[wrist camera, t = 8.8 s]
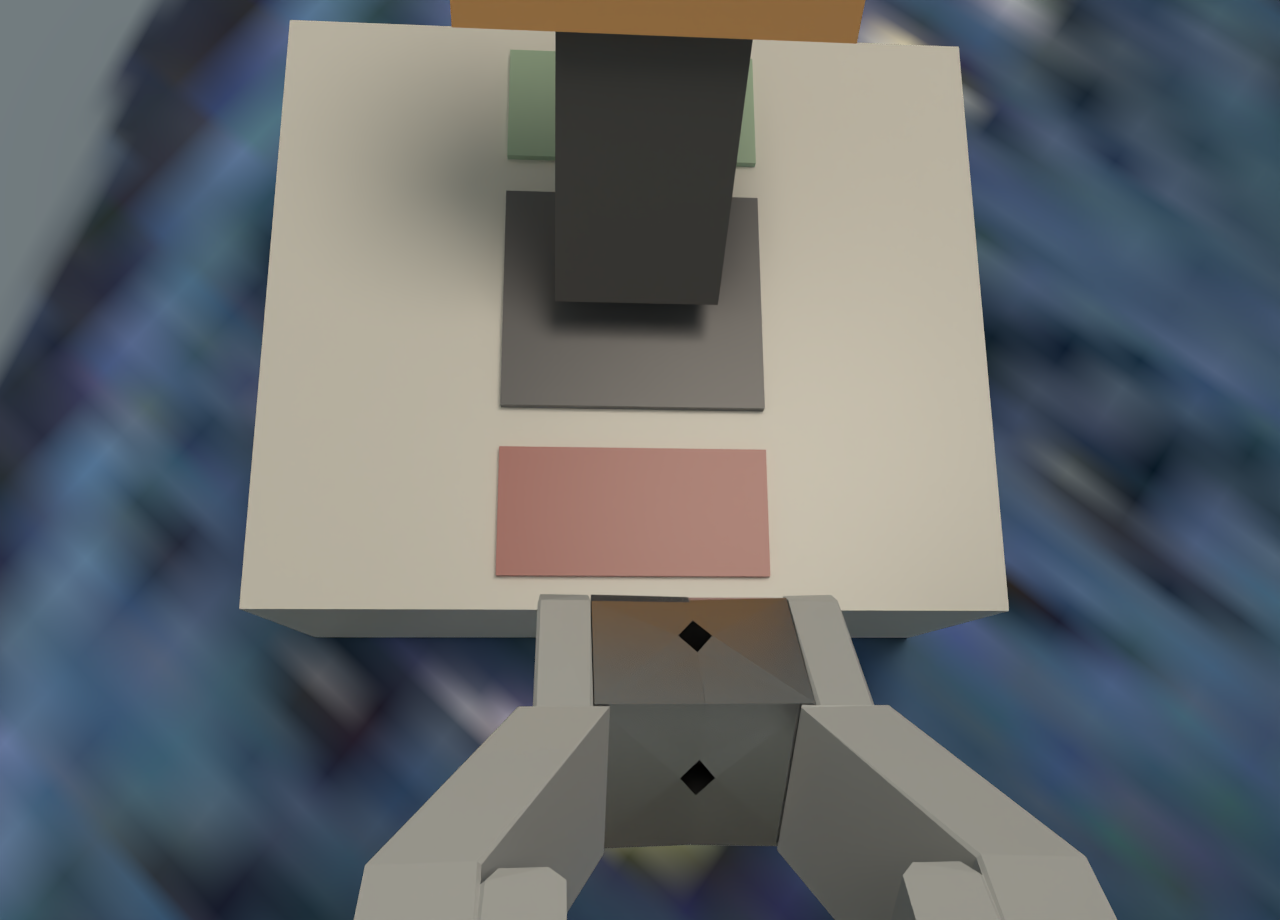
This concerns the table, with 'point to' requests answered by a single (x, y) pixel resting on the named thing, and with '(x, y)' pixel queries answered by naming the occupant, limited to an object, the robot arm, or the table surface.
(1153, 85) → the table surface
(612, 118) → the lever
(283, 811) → the table surface
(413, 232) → the block
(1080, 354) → the table surface
